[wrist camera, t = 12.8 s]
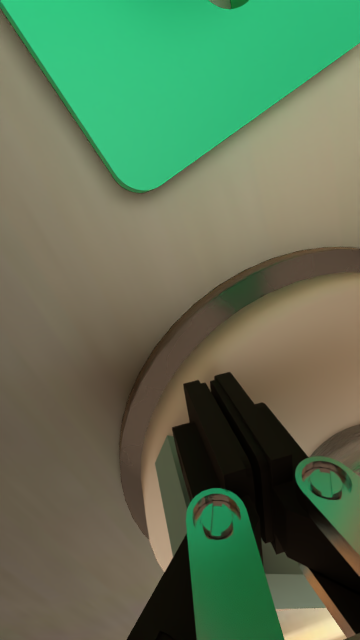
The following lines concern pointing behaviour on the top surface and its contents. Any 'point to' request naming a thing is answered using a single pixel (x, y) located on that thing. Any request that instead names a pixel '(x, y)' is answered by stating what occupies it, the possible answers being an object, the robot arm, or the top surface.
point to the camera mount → (176, 69)
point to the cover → (343, 448)
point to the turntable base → (195, 330)
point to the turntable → (264, 400)
